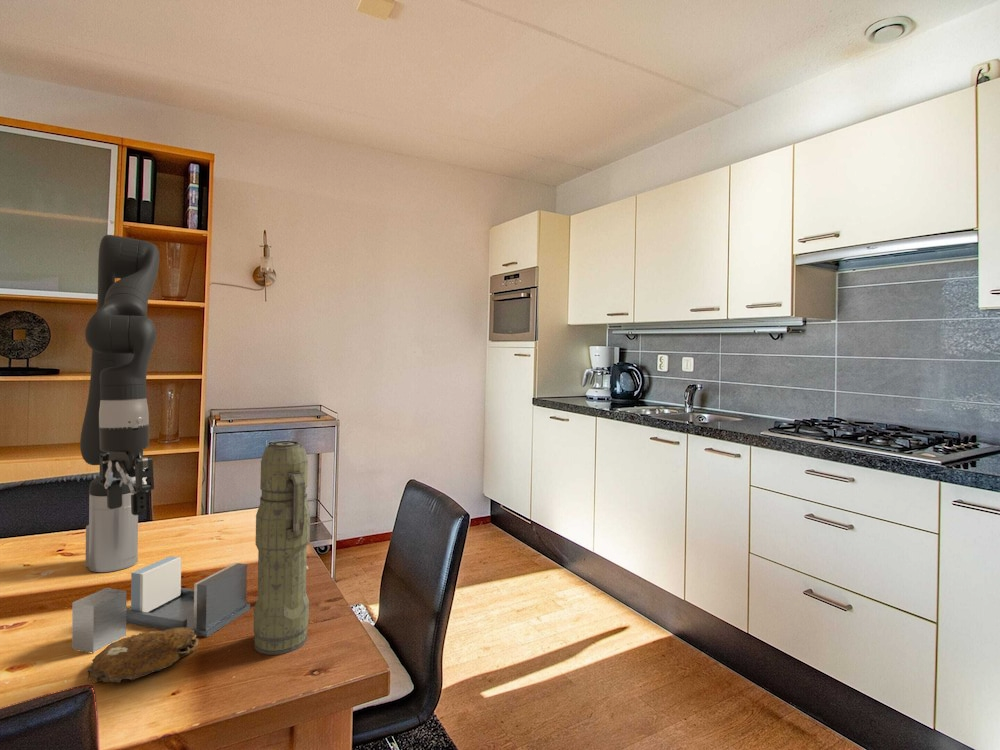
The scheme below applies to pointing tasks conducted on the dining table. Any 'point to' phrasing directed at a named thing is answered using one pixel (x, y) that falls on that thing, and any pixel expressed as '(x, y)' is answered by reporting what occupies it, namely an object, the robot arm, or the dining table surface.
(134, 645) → the decorative rock
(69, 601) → the dining table surface
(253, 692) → the dining table surface
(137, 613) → the vise
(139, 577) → the block
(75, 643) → the steel block
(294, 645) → the thermos
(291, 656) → the dining table surface
